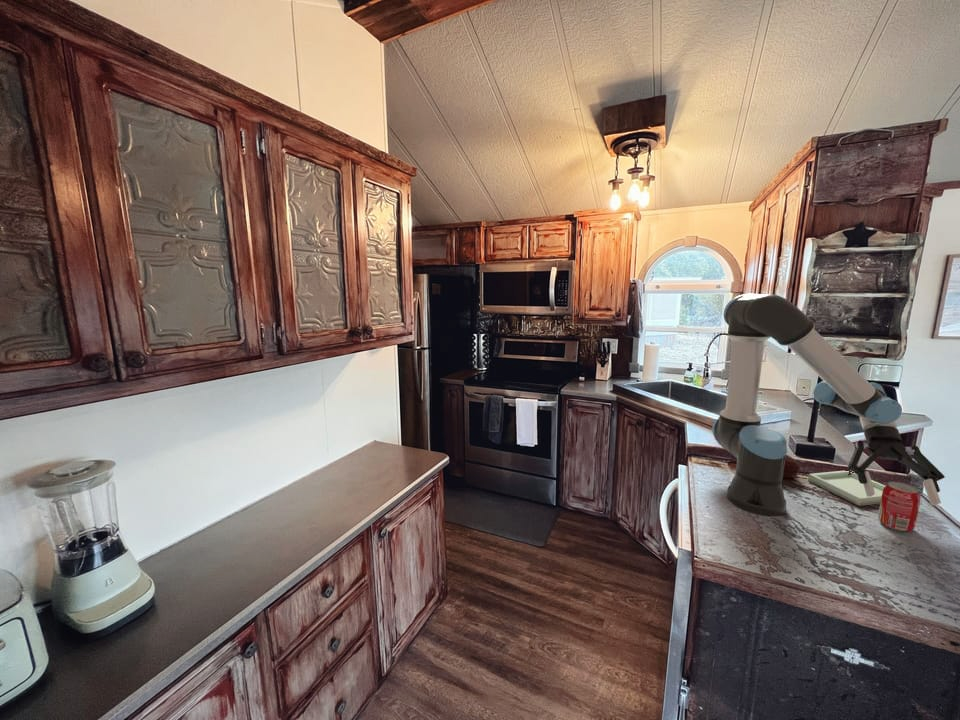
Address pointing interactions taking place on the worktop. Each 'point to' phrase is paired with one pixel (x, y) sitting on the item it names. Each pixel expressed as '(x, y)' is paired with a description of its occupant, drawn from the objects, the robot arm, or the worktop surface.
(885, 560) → the worktop surface
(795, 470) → the potato
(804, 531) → the worktop surface
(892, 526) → the soda can
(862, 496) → the tray
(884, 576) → the worktop surface
